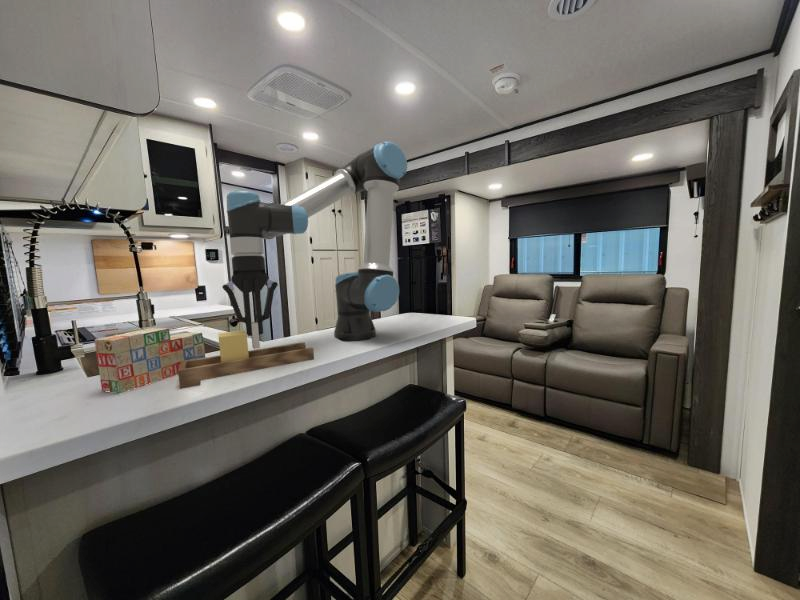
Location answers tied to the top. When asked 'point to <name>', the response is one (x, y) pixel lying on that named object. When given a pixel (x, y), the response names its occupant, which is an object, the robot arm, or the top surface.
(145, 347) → the stack of blocks
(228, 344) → the block
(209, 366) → the chute
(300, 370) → the top surface
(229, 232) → the robot arm
